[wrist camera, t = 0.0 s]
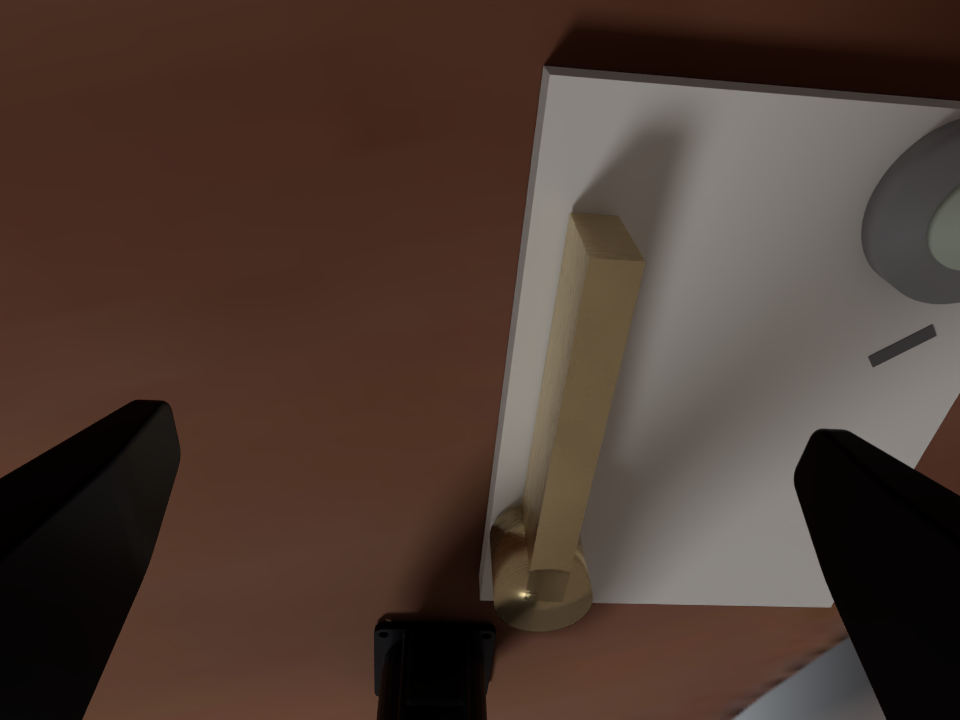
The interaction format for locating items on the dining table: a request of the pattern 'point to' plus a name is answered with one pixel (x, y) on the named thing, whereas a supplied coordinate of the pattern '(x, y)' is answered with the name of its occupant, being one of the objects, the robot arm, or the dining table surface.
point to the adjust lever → (567, 430)
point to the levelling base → (738, 315)
